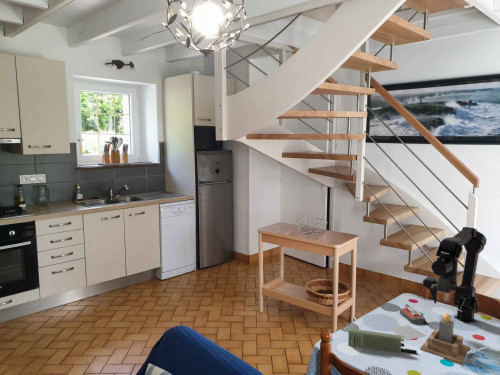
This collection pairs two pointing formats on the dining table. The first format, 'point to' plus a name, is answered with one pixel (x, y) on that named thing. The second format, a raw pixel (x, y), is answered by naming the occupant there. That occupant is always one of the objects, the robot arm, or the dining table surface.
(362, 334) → the handheld radio
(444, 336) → the connector plug
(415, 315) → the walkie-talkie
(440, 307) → the dining table surface
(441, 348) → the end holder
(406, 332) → the mat
